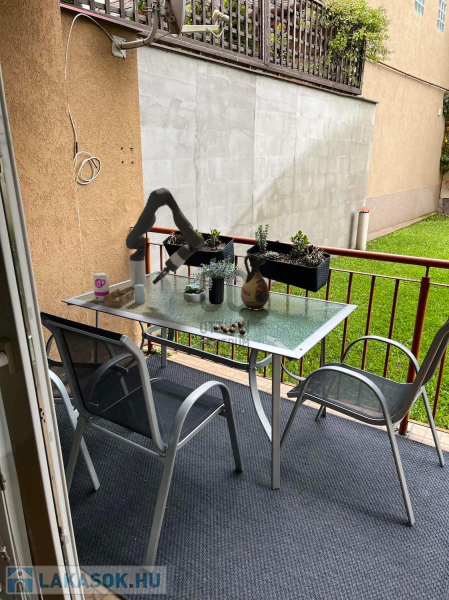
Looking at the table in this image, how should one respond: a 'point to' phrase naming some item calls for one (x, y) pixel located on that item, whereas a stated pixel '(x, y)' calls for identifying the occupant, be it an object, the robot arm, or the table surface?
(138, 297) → the domed pale cylinder
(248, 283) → the ceramic jug
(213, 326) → the table surface
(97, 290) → the supplement can
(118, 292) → the wooden serving tray
